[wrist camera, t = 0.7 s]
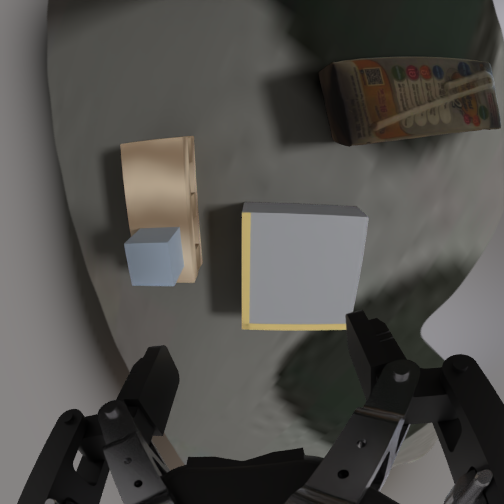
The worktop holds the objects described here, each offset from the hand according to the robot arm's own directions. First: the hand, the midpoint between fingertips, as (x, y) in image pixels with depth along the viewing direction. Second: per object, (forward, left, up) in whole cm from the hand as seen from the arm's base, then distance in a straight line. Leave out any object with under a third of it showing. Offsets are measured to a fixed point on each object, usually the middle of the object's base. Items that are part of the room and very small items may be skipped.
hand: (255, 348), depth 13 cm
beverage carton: (-14, +15, -21) cm, 30 cm away
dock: (+5, +4, -21) cm, 22 cm away
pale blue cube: (+2, -9, -16) cm, 19 cm away
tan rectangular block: (-1, -9, -21) cm, 23 cm away
